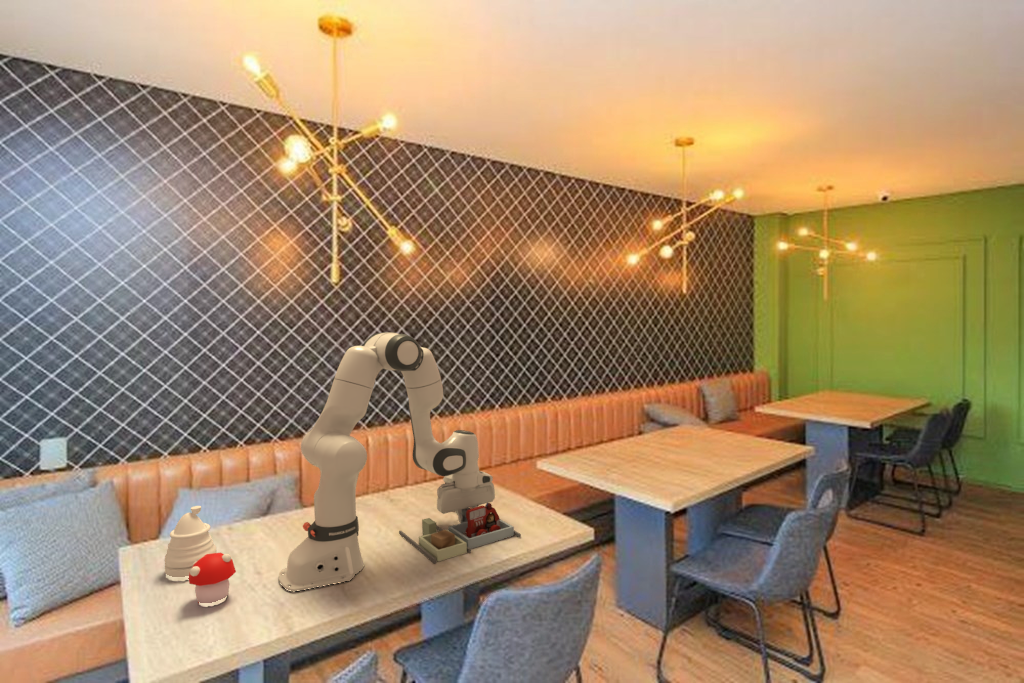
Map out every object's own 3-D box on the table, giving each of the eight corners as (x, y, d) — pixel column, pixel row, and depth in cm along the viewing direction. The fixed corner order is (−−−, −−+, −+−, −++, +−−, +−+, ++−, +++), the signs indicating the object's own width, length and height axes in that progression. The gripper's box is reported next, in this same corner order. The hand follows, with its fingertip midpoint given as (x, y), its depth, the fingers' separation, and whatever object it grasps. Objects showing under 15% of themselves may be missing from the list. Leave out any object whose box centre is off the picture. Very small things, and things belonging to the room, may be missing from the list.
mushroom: (179, 611, 139) (176, 564, 138) (205, 589, 149) (203, 544, 149) (221, 611, 138) (219, 564, 137) (245, 589, 149) (242, 544, 148)
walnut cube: (441, 555, 166) (441, 539, 166) (431, 550, 170) (431, 534, 170) (455, 550, 170) (454, 534, 170) (444, 545, 174) (444, 529, 173)
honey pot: (220, 557, 169) (216, 498, 167) (214, 576, 157) (210, 512, 155) (170, 565, 164) (166, 504, 163) (160, 585, 152) (156, 520, 151)
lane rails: (434, 563, 161) (434, 559, 161) (399, 534, 182) (399, 530, 182) (520, 537, 178) (520, 533, 178) (479, 513, 199) (479, 510, 199)
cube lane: (437, 561, 163) (436, 541, 162) (412, 541, 177) (411, 522, 177) (466, 552, 168) (466, 533, 167) (439, 533, 182) (439, 515, 182)
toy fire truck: (506, 535, 180) (505, 503, 179) (475, 546, 172) (474, 513, 171) (492, 529, 185) (491, 497, 185) (461, 540, 177) (460, 507, 177)
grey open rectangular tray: (468, 549, 170) (467, 530, 170) (441, 530, 185) (440, 512, 184) (513, 536, 179) (513, 517, 179) (484, 519, 194) (484, 501, 193)
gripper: (441, 487, 178) (442, 530, 179) (496, 475, 189) (497, 516, 190) (432, 482, 183) (434, 524, 184) (487, 471, 194) (488, 510, 195)
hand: (466, 520), depth 187 cm, fingers closed on grey open rectangular tray, 2 cm apart
